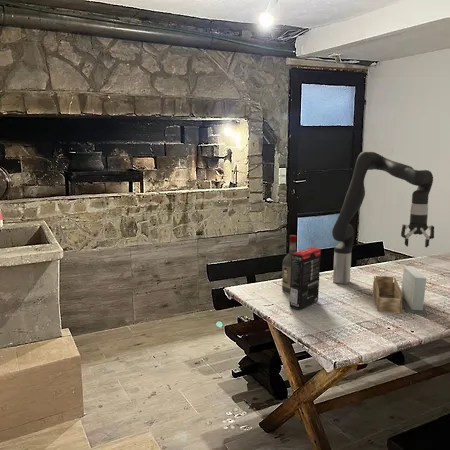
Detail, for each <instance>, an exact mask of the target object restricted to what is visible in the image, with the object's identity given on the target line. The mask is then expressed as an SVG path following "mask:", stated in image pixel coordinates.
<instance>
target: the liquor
mask: <svg viewBox="0 0 450 450" xmlns="http://www.w3.org/2000/svg"><path fill="white" fill-rule="evenodd" d="M288 240H289V250H288V254H286V255H285V256H284V258H283V260H282V267H281V268H282V271H281V272H282V275H281V276H282V278H281V290H282V292H285V293H287V294H290V280H291V258H292V253H295V252H297V235H295V234H290V235H289V239H288Z"/></svg>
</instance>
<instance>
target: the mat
mask: <svg viewBox="0 0 450 450" xmlns="http://www.w3.org/2000/svg"><path fill="white" fill-rule="evenodd" d="M402 307H403V309H404V311H405V313H406V314H419V315H428V312H427V310H426V307H424V305H423V310H412V309H411V308H410V307H409V305H408V304H407V303H406V302H405V300H404V299H403V298H402Z"/></svg>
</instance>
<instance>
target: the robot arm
mask: <svg viewBox="0 0 450 450" xmlns="http://www.w3.org/2000/svg"><path fill="white" fill-rule="evenodd" d="M369 170H370V171H373V170H376V171H377V170H378V171H382V172H385V173H387V174H389V175H390V176H392V177H393V178H394V177H395V178H397V179H401V180H402V181H406V182H407V183H409V184H411V185H412V186H417V189H415V190H414V191H412V195H411V206H410V210H409V211H410V214H409V224H404V223H403V224H402V225H401V233H400V237H402V238H404V245H405V247H408V246H409V238H410V237H411V236H412V235H419V236H420V235H423V236H424V237H425V241H424V247H425V248H428V247H429V246H430V241H431V240H433V239H434V238H435V226H434V225H428V214H429V195H430V192H431V189H432V187H433V182H434V176H433V173H432V171H430V170H427V169H420V170H418V169H415V168H413V167H412V166H410V165H408V164H404V163H401V162H397V161H394V160H391V159H389V158H386V157H385V156H384V155H381V154H379V153H377V152H375V151H361V152H360V153H359V154H358V156H357V158H356V161H355V165H354V169H353V173H352V177H351V180H350V183H349V186H348V190H347V192H346V194H345V198H344V201H343V204H342V206H341V209H340V213H339V214H338V217H337V219H336V221H335V223H334V225H333V227H332V231H331V234H332V237H333V240H334V241H337V242H338V243H337V244H336V245H335V246H334V249H333V250H334V251H333V253H334V255H333V276H332V277H333V279H332V283H335V284H342V285H343V284H345V285H346V284H349V283H350V282H351V267H352V266H351V265H352V249H353V247H354V242H355V240H354V239H355V229H354V227H353V226H352V224H351V223H350V222H351V220H352V218H353V217H354V216H355V214H357V212H359V209H361V207H362V204H363V202H364V199H365V197H366V190H365V189H366V188H365V178H366V175H367V172H368V171H369ZM407 229H409V231H408V232H407V233H406V230H407ZM427 230H429V232H430V235H428V233H427V232H426V231H427Z"/></svg>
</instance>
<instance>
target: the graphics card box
mask: <svg viewBox="0 0 450 450" xmlns="http://www.w3.org/2000/svg"><path fill="white" fill-rule="evenodd" d="M321 249H322V248H319V247H309V248H305V249H302V250H298V251H296V252H295V253H292V258H291V280H290V293H289V302H288V303H289V305H288V307H289V308H291V309H292V308H293V309H294V310H295V309H296V310H299V311H301V310H303V309H304V308H307V307H309V306H312V305H313V304H316V303H317V302H319V292H320V290H319V289H320V273H321V272H320V271H321V254H322V253H321V252H322V250H321Z"/></svg>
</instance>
